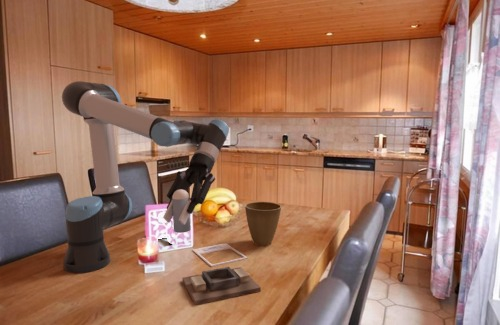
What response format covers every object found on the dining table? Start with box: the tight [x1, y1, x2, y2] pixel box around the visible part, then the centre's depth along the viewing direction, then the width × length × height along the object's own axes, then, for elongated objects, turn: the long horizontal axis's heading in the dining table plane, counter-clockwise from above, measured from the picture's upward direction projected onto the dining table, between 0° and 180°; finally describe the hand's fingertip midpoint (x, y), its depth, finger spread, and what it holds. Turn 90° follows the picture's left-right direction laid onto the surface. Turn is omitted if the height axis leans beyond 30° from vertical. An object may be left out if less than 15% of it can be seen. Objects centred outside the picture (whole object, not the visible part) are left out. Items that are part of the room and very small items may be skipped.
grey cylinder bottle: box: [172, 189, 191, 234], centre depth 107 cm, size 5×5×12 cm
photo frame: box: [192, 242, 249, 268], centre depth 136 cm, size 15×1×18 cm
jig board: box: [181, 266, 262, 306], centre depth 110 cm, size 20×16×4 cm
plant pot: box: [244, 201, 282, 247], centre depth 148 cm, size 15×15×16 cm
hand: (173, 220), depth 104 cm, fingers closed on grey cylinder bottle, 5 cm apart
